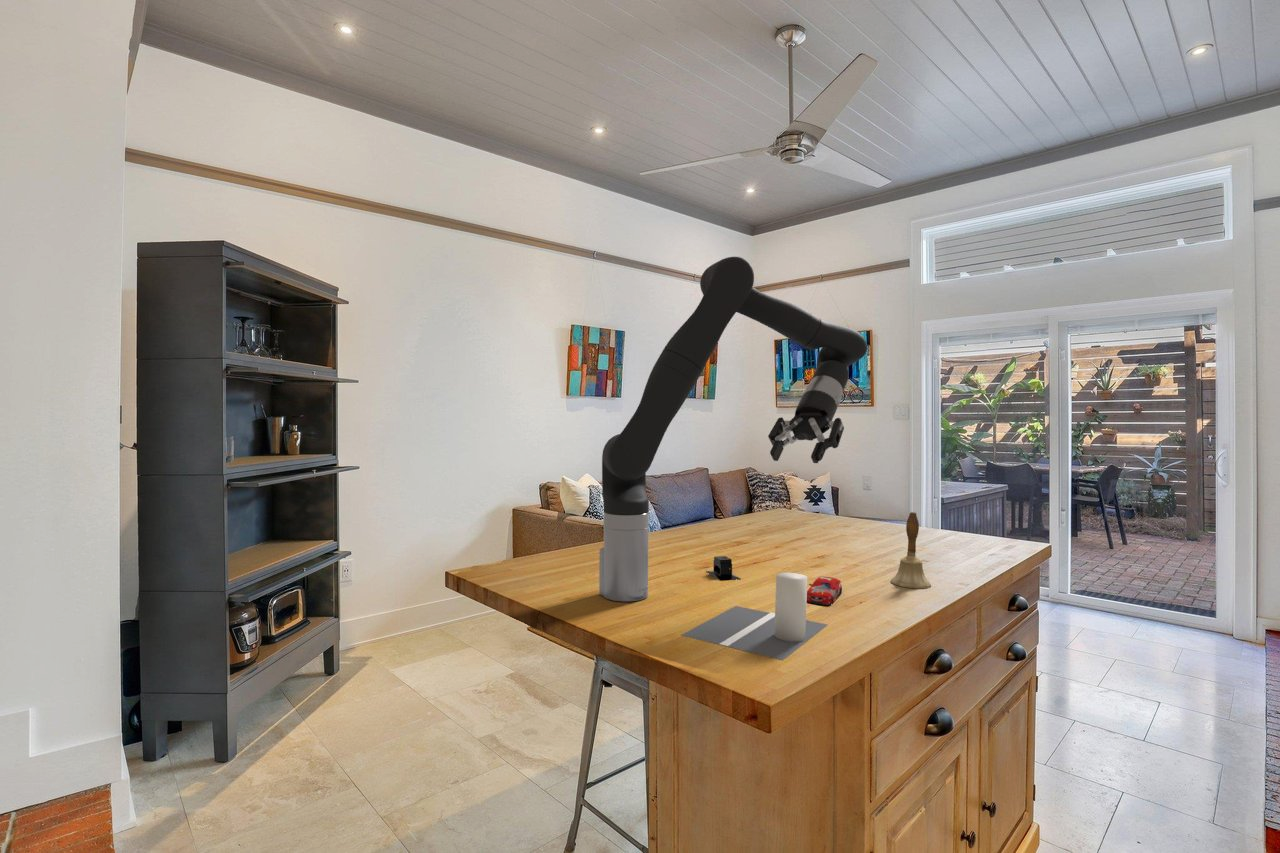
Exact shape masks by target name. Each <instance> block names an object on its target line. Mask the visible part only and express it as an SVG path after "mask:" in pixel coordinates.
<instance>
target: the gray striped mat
mask: <svg viewBox="0 0 1280 853" xmlns="http://www.w3.org/2000/svg"><path fill="white" fill-rule="evenodd" d="M828 626H829V624H828V623H822V622H818V621H817V622H816V621H812V620H807V619H806V638H805V640H803V641H800V642H789V641H783V640H780V639H778V638H776V637H775V635H774V634H775V612H767V611H763V610H757V609H752V608H748V607H744V606H743V607H742V606H737V605H735V606H733V607H731V608H729V609H727V610H725V611H723V612H722V613H720V614H717V615H716V616H714V617H712V618H710V619H709V620H706V621H704V622H702V623H700V624H699V625H697V626H695V627H693V628H691V629H689V630H687V631H685V632H684V633H682V634H681V636H682V637H686V638H687V637H688V638H691V639H695V640H700V641H703V642H707V643H712V644H715V645H717V646H718V645H719V646H724V647H727V648H731V649H735V650H740V651H743V652H747V653H751V654H756V655H760V656H764V657H768V658H770V659H771V658H772V659H776V660H779V661H785V659H786V658H788V657H790V655H792V654H793V653H795V651H797V650H798V649H799V648H801V647H802V646H803V645H804V644H806V643H807V642H808V641H809V640H811V639H812V638H814V637H815V636H816V635H817V634H819V633H820V632H821V631H823V629H825V628H826V627H828Z"/></svg>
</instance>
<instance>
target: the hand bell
mask: <svg viewBox="0 0 1280 853" xmlns="http://www.w3.org/2000/svg"><path fill="white" fill-rule="evenodd" d="M905 526H906V528H905V531H906V536H907V540H908V541H907V542H908V543H907V552H906V556H904V557H902V558H900V560H899V566H898V571H897V572H896V574H895V575H894V576H893V577H892V578H891V579H890V583H892V584H893V585H894V586H895V585H896V586H898V587H902V588H908V589H909V588H910V589H919V588H921V589H922V588H923V589H929V588H931V587H932V583H931V582H930V581H929V580H928V578H927V577H926V575H925V573H924V569H923V561H922V560H921V559H920V558H918V557H917V556H916V552H917V550H916V549H917V548H916V547H917V546H916V544H917V538H918V535H919V531H920V530H919V529H920V523H919V520H918V516H917V512H914V511H913V512H912V511H911V512H909V516H908V518H907V520H906V525H905Z"/></svg>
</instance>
